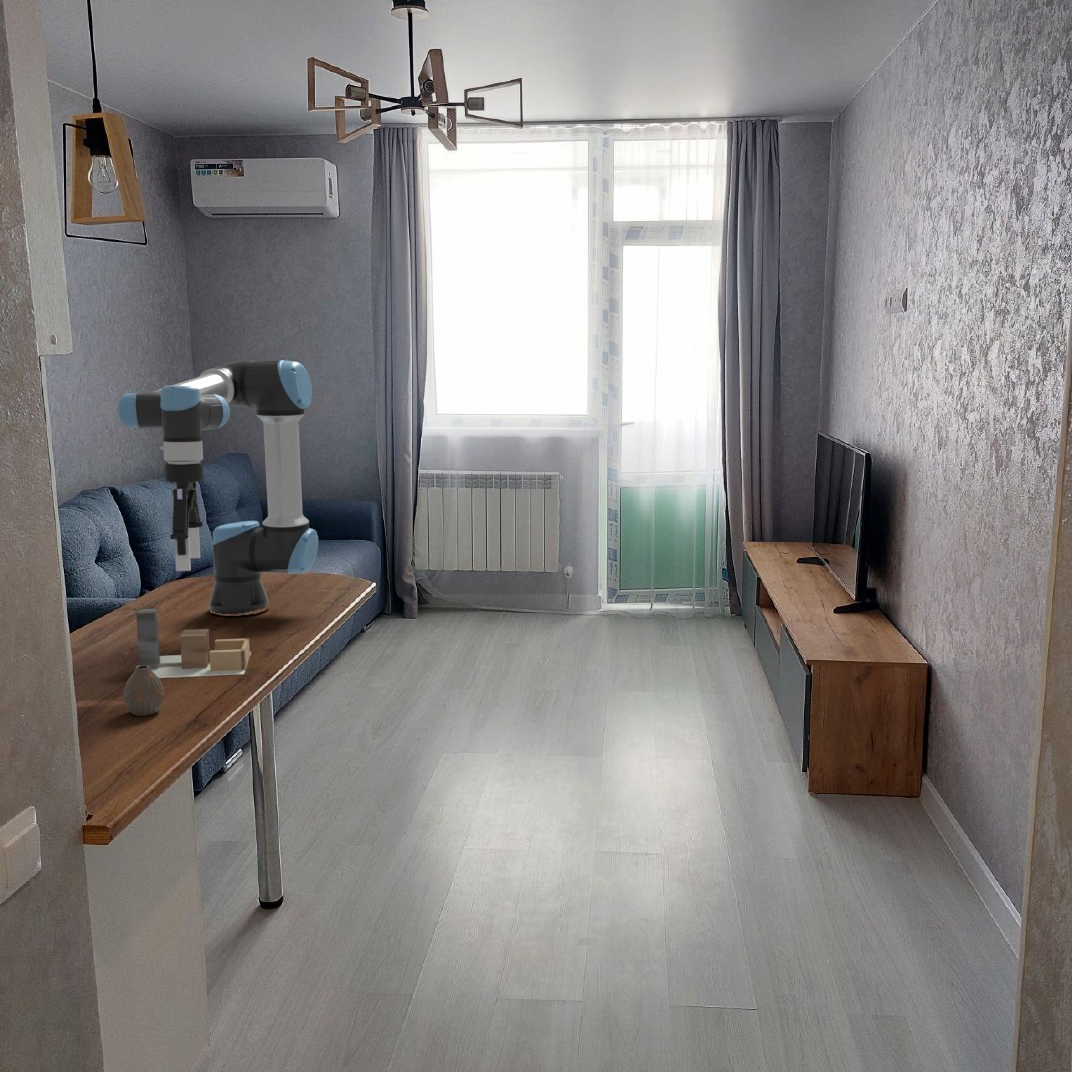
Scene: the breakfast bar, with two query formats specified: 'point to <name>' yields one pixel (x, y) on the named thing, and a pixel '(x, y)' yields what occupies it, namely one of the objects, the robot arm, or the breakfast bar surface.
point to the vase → (143, 692)
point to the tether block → (192, 641)
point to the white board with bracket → (212, 661)
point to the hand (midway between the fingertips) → (188, 564)
